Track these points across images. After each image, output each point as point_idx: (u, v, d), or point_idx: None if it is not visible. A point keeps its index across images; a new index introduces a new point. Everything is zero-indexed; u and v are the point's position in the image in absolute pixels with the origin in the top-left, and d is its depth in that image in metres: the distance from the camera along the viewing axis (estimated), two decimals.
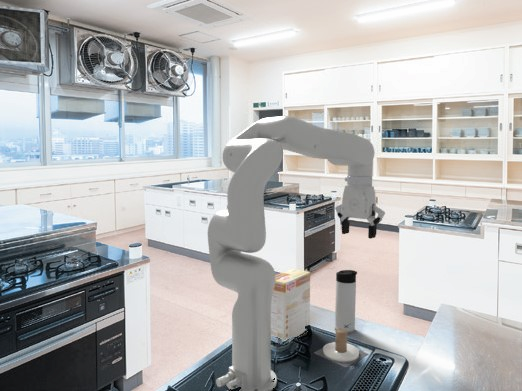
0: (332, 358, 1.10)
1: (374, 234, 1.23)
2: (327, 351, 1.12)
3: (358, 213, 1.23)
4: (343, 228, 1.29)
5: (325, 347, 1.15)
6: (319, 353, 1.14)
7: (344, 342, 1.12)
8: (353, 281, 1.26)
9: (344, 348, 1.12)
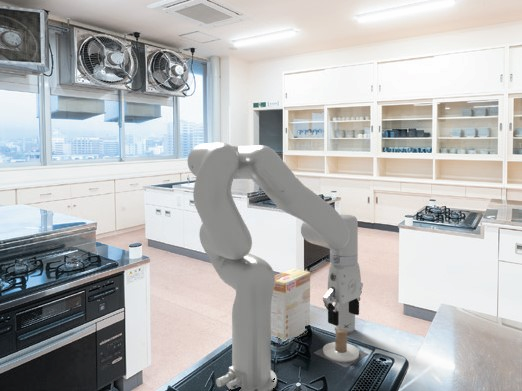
0: (332, 358, 1.10)
1: None
2: (327, 351, 1.12)
3: (355, 294, 1.11)
4: (337, 318, 1.09)
5: (325, 347, 1.15)
6: (319, 353, 1.14)
7: (344, 342, 1.12)
8: None
9: (344, 348, 1.12)
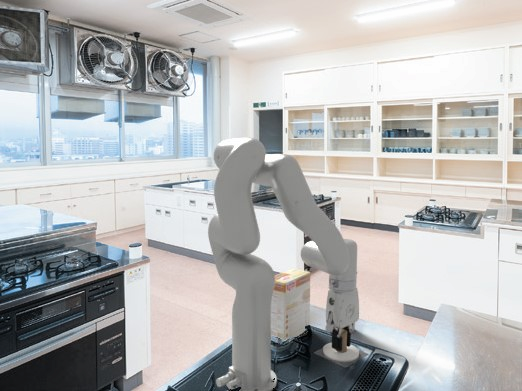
0: (332, 358, 1.10)
1: None
2: (327, 351, 1.12)
3: (353, 318, 1.12)
4: (341, 344, 1.11)
5: (325, 347, 1.15)
6: (319, 353, 1.14)
7: (344, 342, 1.12)
8: None
9: (344, 348, 1.12)
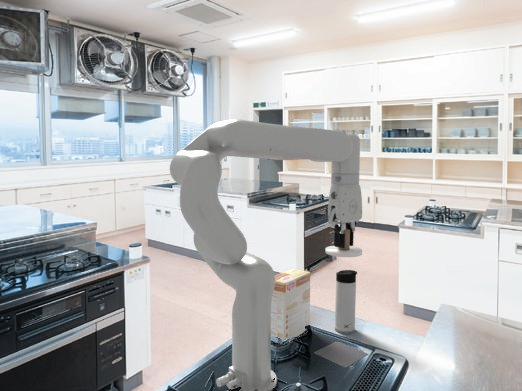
0: (335, 254, 1.08)
1: None
2: (329, 250, 1.11)
3: (356, 215, 1.10)
4: None
5: (327, 248, 1.13)
6: (319, 353, 1.14)
7: (347, 240, 1.10)
8: (353, 281, 1.26)
9: (347, 246, 1.10)
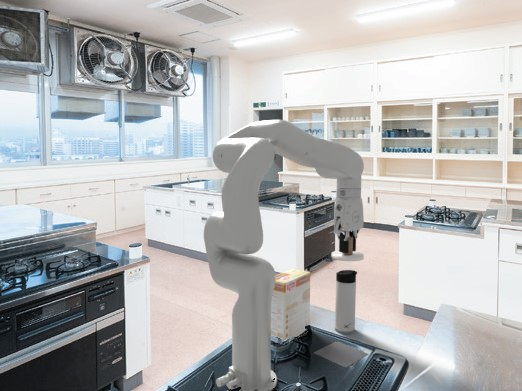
0: (340, 258, 1.23)
1: None
2: (335, 255, 1.26)
3: (358, 224, 1.25)
4: (348, 247, 1.25)
5: (333, 253, 1.29)
6: (319, 353, 1.14)
7: (350, 246, 1.25)
8: (353, 281, 1.26)
9: (350, 251, 1.26)
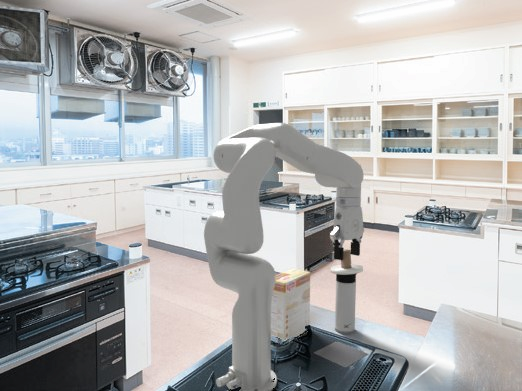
0: (339, 272, 1.23)
1: None
2: (334, 269, 1.26)
3: (358, 233, 1.25)
4: (342, 254, 1.23)
5: (332, 267, 1.29)
6: (319, 353, 1.14)
7: (348, 259, 1.26)
8: (353, 281, 1.25)
9: (349, 264, 1.26)
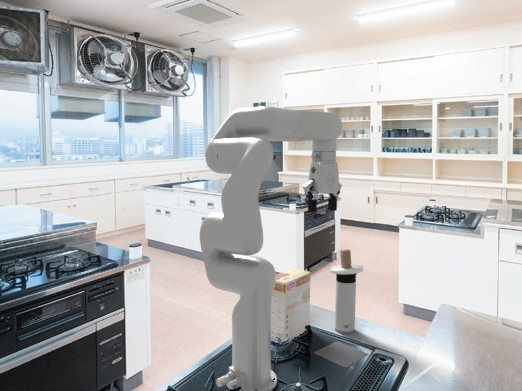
0: (339, 272, 1.24)
1: None
2: (334, 269, 1.26)
3: (333, 188, 1.27)
4: (316, 206, 1.24)
5: (332, 267, 1.29)
6: (319, 353, 1.14)
7: (348, 259, 1.26)
8: (353, 281, 1.26)
9: (349, 264, 1.26)
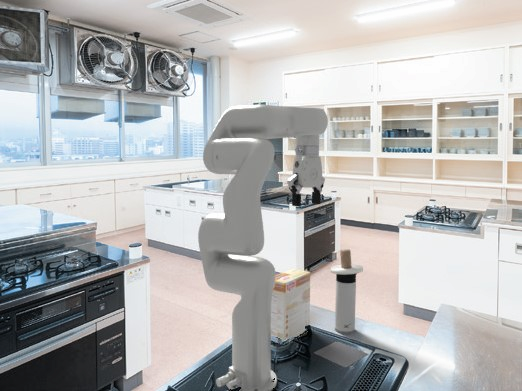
0: (339, 272, 1.24)
1: None
2: (334, 269, 1.26)
3: (316, 182, 1.29)
4: (300, 200, 1.26)
5: (332, 267, 1.29)
6: (319, 353, 1.14)
7: (348, 259, 1.26)
8: (353, 281, 1.26)
9: (349, 264, 1.26)
